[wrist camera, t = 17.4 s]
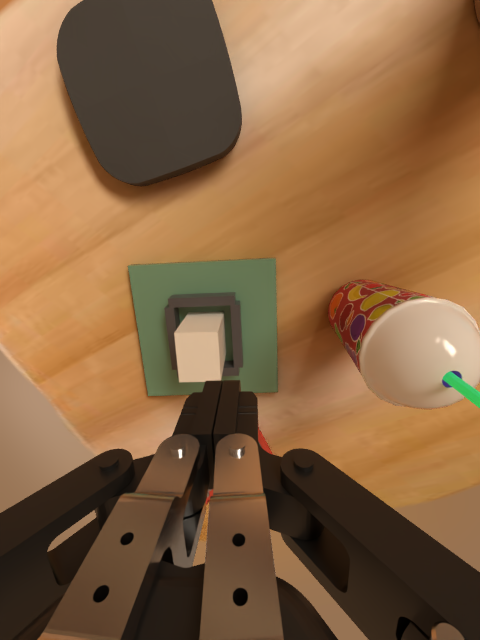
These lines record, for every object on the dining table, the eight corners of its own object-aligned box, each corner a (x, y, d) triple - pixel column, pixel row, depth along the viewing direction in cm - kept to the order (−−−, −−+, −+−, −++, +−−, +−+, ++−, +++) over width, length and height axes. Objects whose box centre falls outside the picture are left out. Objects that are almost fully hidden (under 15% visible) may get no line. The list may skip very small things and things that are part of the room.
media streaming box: (120, 197, 32) (107, 194, 29) (56, 37, 28) (34, 15, 25) (252, 149, 31) (252, 141, 28) (203, -28, 27) (197, -59, 24)
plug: (188, 312, 34) (174, 332, 28) (224, 311, 34) (217, 331, 27) (192, 357, 36) (179, 386, 29) (226, 356, 36) (221, 386, 29)
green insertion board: (131, 264, 34) (120, 268, 31) (274, 257, 33) (277, 260, 30) (150, 391, 38) (142, 405, 36) (277, 387, 38) (279, 401, 35)
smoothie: (404, 319, 35) (593, 431, 16) (337, 353, 36) (437, 494, 17) (374, 256, 33) (549, 294, 14) (305, 294, 34) (376, 378, 15)
